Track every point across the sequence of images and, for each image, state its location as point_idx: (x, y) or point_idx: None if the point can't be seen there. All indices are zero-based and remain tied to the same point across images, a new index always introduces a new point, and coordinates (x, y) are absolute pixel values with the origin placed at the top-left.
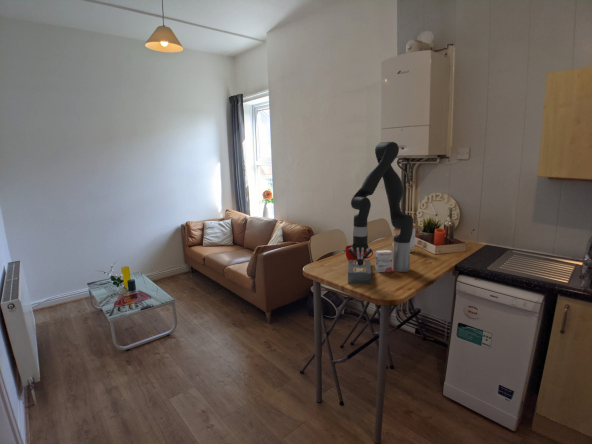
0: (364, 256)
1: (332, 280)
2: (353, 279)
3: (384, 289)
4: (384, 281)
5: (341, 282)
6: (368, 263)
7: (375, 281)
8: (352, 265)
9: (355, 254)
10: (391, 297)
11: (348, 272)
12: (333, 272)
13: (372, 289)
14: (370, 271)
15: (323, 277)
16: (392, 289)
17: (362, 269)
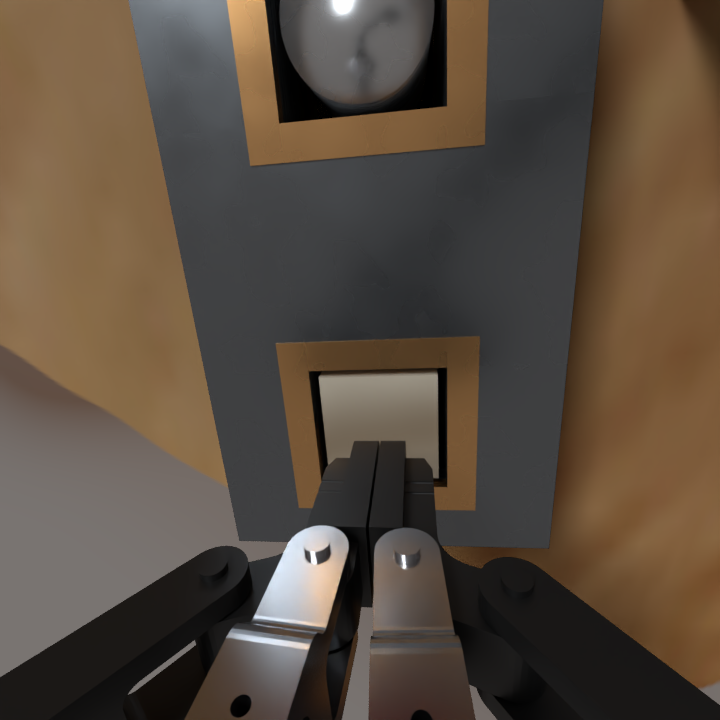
0: (492, 710)
1: (125, 410)
2: None
3: (630, 547)
4: (686, 356)
5: (219, 445)
6: (562, 35)
7: (572, 372)
8: (246, 246)
9: (206, 616)
10: None
11: (243, 537)
12: (50, 165)
13: (513, 555)
14: (546, 474)
15: (15, 349)
16: (714, 540)
17: (425, 406)
